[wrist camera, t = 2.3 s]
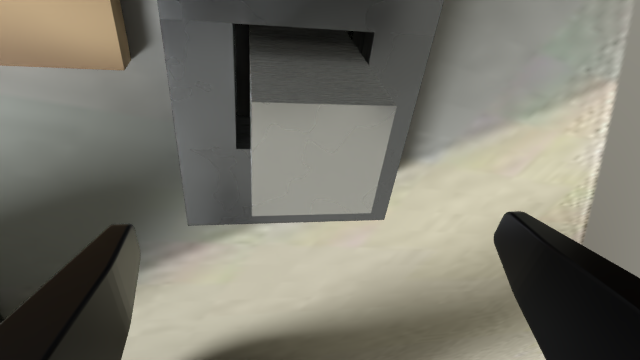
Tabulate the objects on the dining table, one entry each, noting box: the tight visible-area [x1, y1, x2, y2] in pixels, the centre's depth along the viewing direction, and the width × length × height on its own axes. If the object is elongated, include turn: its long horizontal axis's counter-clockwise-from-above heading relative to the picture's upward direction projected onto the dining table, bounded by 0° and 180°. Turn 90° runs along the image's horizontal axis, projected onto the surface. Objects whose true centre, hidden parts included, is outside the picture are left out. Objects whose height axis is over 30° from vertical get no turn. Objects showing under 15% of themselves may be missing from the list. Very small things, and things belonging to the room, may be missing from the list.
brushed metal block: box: [249, 24, 397, 216], centre depth 15 cm, size 4×4×8 cm
